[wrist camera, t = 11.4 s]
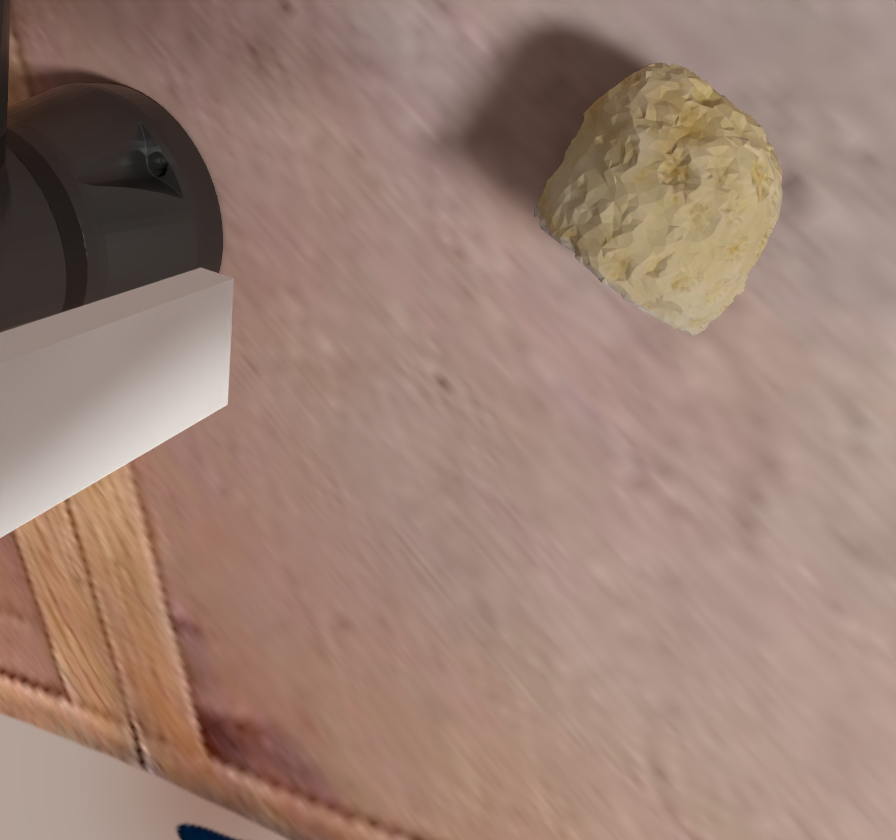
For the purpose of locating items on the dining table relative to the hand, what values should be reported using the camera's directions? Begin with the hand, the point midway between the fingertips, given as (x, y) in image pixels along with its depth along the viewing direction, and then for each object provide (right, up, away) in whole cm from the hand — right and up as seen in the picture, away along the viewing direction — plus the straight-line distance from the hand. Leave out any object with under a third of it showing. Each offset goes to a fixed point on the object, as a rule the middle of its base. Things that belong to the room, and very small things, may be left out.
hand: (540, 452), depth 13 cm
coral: (+9, +11, +22) cm, 26 cm away
